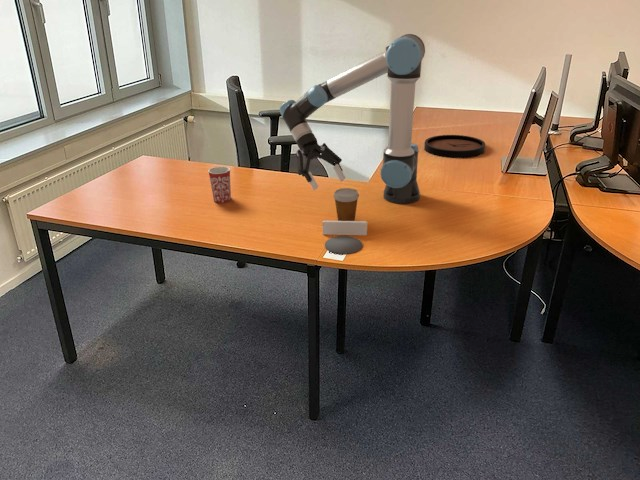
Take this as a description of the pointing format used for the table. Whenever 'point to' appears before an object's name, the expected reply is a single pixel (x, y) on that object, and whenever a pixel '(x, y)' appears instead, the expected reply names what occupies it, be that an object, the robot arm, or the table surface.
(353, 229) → the low wall
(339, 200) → the disposable coffee cup
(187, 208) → the table surface
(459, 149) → the wall clock
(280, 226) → the table surface
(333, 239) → the rubber pad
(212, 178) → the mug
